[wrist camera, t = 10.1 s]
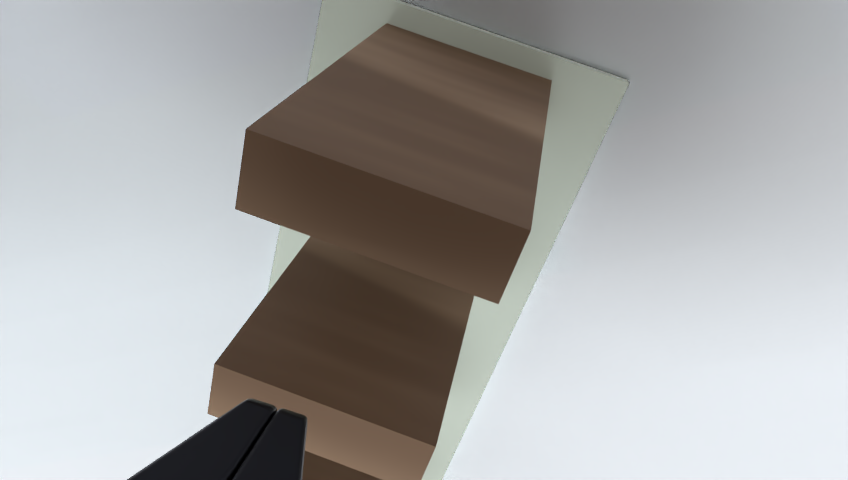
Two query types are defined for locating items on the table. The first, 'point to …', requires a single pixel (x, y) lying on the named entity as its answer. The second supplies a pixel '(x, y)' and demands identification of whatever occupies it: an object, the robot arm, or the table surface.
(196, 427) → the table surface
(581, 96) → the mat
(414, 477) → the domino
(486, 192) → the domino
